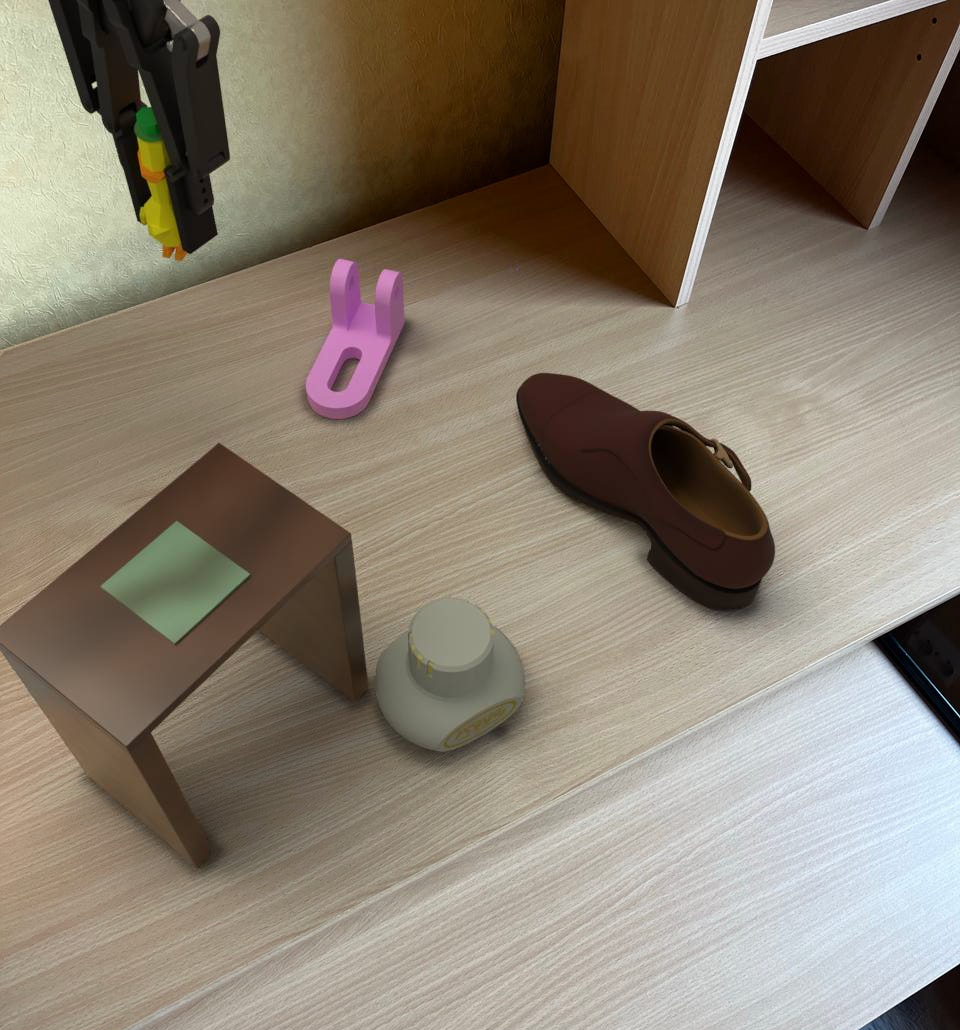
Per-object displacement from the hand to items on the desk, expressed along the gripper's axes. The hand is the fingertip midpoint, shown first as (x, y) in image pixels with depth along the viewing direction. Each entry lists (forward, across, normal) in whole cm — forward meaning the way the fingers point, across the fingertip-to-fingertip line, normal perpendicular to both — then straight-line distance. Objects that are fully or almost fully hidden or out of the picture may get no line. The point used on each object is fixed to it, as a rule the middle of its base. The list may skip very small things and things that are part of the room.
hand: (177, 227), depth 77 cm
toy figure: (+3, +1, 0) cm, 3 cm away
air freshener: (+20, -32, +9) cm, 39 cm away
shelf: (+20, -22, +21) cm, 36 cm away
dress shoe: (+20, -32, -16) cm, 41 cm away
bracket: (+21, -4, -12) cm, 24 cm away
